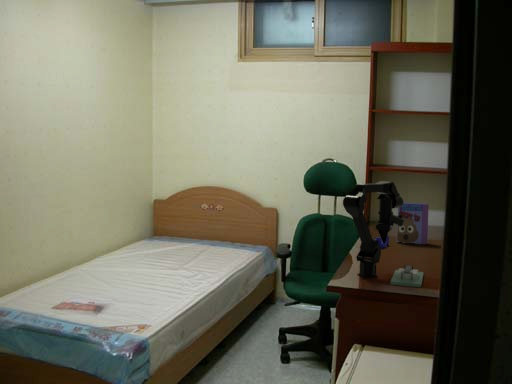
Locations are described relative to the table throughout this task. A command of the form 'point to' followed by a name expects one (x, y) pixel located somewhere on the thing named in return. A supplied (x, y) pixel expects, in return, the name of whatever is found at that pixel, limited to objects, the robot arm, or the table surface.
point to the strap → (407, 270)
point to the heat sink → (412, 275)
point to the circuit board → (407, 280)
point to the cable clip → (382, 242)
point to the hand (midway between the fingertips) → (384, 243)
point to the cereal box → (413, 223)
